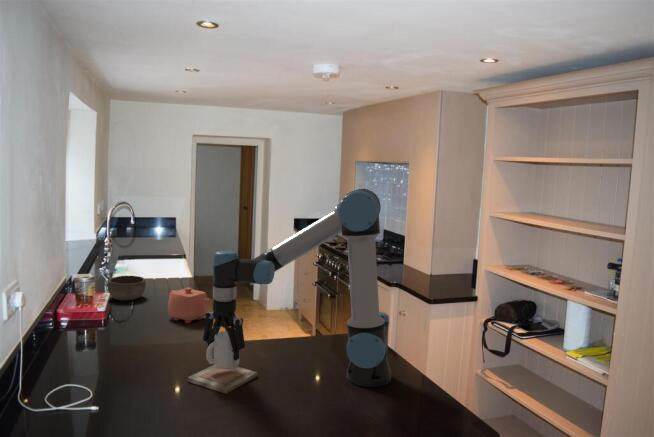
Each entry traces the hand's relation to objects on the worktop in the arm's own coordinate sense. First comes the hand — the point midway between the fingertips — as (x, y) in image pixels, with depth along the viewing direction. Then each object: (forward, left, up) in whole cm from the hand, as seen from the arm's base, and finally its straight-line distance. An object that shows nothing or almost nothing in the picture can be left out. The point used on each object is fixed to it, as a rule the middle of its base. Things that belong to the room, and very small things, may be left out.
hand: (223, 365), depth 174 cm
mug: (+1, 0, 0) cm, 1 cm away
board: (0, 0, -4) cm, 4 cm away
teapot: (+54, -41, -5) cm, 68 cm away
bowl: (+102, -48, -5) cm, 113 cm away
